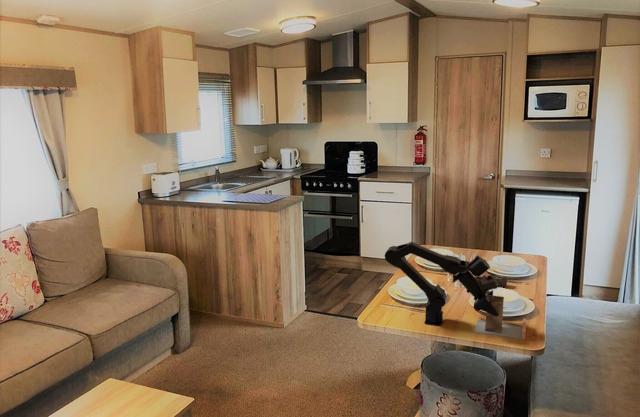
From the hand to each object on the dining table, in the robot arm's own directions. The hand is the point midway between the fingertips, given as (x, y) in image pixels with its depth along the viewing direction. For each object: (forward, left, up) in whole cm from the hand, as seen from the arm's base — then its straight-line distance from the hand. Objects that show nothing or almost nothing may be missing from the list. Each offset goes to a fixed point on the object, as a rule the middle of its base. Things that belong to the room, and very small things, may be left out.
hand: (498, 312), depth 204 cm
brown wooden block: (-1, 0, -7) cm, 7 cm away
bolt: (-7, +52, -8) cm, 53 cm away
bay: (+1, 0, -8) cm, 8 cm away
